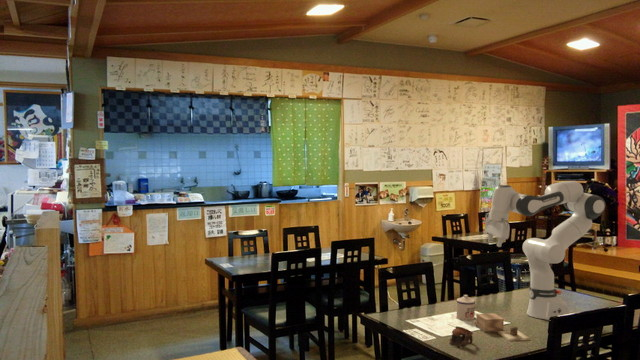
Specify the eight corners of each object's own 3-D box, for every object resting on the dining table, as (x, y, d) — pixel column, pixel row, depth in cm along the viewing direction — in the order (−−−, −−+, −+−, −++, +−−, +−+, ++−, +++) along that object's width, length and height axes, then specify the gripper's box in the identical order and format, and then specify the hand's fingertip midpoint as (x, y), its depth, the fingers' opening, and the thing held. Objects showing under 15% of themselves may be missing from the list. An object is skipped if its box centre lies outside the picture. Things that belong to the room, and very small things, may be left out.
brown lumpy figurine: (444, 342, 218) (450, 324, 220) (462, 351, 219) (468, 333, 221) (457, 344, 206) (463, 325, 209) (477, 354, 207) (483, 335, 210)
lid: (518, 333, 230) (518, 323, 230) (529, 341, 220) (529, 330, 220) (498, 334, 228) (498, 324, 228) (509, 341, 219) (509, 331, 219)
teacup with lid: (467, 322, 245) (467, 298, 244) (452, 317, 252) (452, 294, 252) (482, 318, 252) (482, 295, 251) (467, 313, 259) (467, 291, 259)
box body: (494, 325, 240) (494, 313, 239) (503, 332, 230) (504, 319, 230) (475, 326, 238) (476, 313, 238) (484, 332, 229) (485, 319, 229)
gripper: (514, 221, 238) (510, 249, 239) (496, 215, 258) (492, 241, 259) (502, 219, 237) (497, 248, 238) (484, 213, 258) (480, 240, 258)
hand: (494, 244), depth 249 cm, fingers open, 8 cm apart
